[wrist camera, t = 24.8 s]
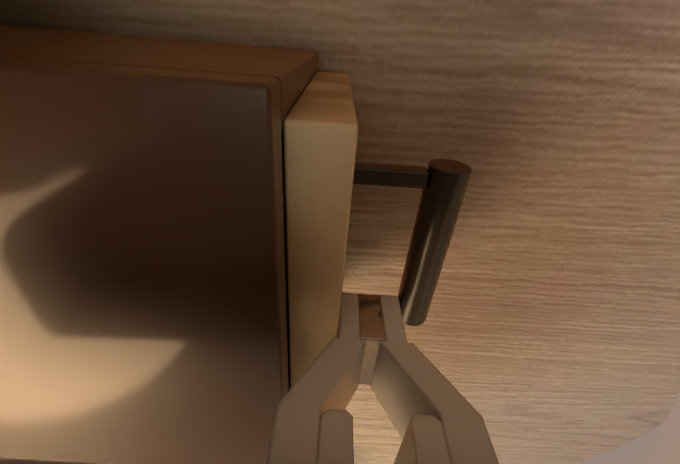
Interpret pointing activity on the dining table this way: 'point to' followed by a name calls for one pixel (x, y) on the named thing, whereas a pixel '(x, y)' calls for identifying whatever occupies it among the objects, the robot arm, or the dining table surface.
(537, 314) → the dining table surface
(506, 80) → the dining table surface
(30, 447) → the cabinet
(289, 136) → the drawer
